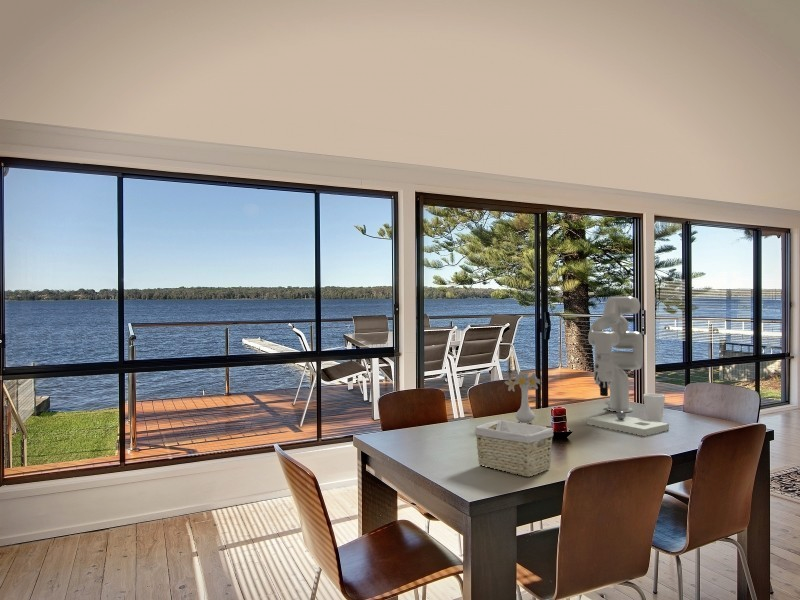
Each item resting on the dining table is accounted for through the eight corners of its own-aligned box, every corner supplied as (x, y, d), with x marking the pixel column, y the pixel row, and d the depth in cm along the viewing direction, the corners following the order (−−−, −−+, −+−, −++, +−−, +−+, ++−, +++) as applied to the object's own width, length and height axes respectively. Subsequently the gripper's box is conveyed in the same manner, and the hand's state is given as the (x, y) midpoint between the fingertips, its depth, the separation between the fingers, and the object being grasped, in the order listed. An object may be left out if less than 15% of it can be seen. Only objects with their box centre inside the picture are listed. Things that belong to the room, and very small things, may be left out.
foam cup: (668, 424, 264) (668, 396, 264) (649, 424, 264) (648, 396, 264) (660, 419, 273) (659, 393, 273) (640, 420, 273) (640, 393, 273)
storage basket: (473, 466, 203) (472, 425, 203) (500, 457, 214) (499, 418, 214) (529, 480, 185) (528, 435, 185) (556, 469, 196) (555, 427, 196)
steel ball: (614, 419, 262) (614, 411, 262) (620, 418, 264) (619, 410, 264) (622, 421, 258) (622, 412, 258) (627, 419, 260) (627, 411, 260)
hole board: (587, 424, 266) (587, 418, 266) (611, 419, 276) (611, 413, 276) (644, 436, 241) (644, 429, 241) (668, 430, 251) (668, 423, 251)
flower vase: (502, 423, 271) (500, 372, 272) (527, 418, 282) (526, 369, 283) (522, 428, 261) (521, 374, 261) (548, 422, 272) (546, 371, 272)
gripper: (599, 358, 261) (600, 398, 261) (619, 357, 269) (620, 395, 269) (586, 357, 268) (587, 396, 267) (606, 356, 276) (607, 393, 275)
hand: (604, 395), depth 268 cm, fingers closed
